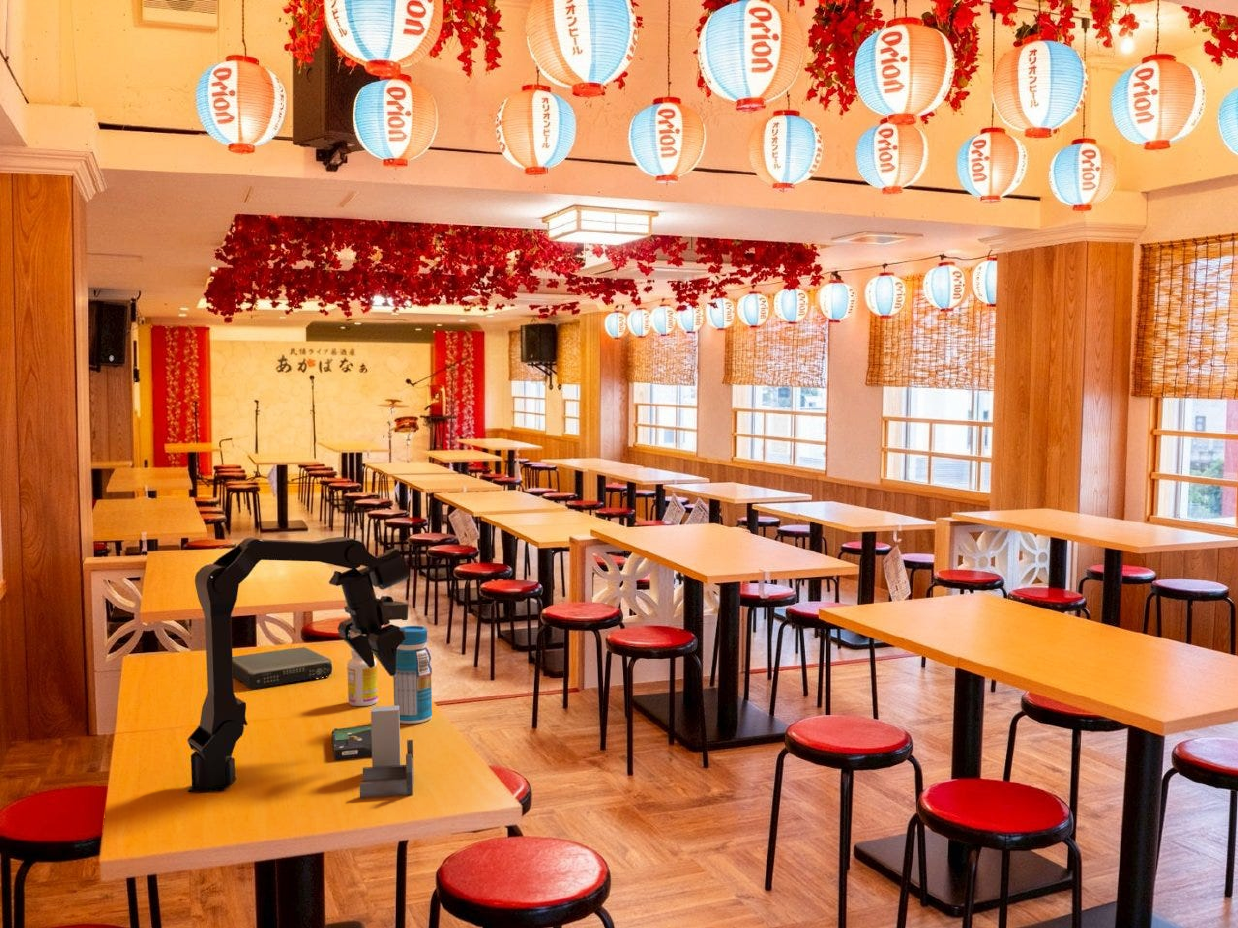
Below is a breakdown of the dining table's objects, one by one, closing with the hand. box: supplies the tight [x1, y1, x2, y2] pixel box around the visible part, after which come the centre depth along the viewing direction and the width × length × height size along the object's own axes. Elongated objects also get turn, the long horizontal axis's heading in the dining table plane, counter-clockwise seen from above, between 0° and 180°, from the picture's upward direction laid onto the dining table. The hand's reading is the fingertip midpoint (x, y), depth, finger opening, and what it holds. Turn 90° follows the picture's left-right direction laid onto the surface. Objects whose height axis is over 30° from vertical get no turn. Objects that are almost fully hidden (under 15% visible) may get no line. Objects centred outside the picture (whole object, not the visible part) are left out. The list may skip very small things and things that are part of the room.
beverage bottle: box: [392, 625, 433, 725], centre depth 231 cm, size 8×8×20 cm
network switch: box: [232, 646, 333, 691], centre depth 272 cm, size 23×23×5 cm
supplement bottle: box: [346, 648, 379, 707], centre depth 244 cm, size 7×7×13 cm
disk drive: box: [331, 724, 372, 762], centre depth 213 cm, size 10×3×15 cm
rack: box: [358, 739, 415, 799], centre depth 189 cm, size 9×9×7 cm
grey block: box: [370, 705, 402, 767], centre depth 197 cm, size 5×5×12 cm
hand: (382, 670), depth 211 cm, fingers open, 9 cm apart
